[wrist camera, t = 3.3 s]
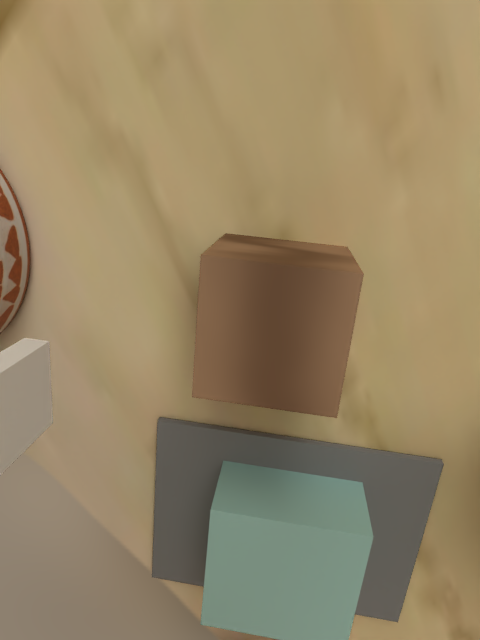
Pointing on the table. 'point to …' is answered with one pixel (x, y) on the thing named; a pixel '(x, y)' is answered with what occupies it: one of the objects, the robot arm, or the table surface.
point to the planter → (12, 254)
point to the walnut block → (275, 323)
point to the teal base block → (285, 553)
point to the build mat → (298, 456)
